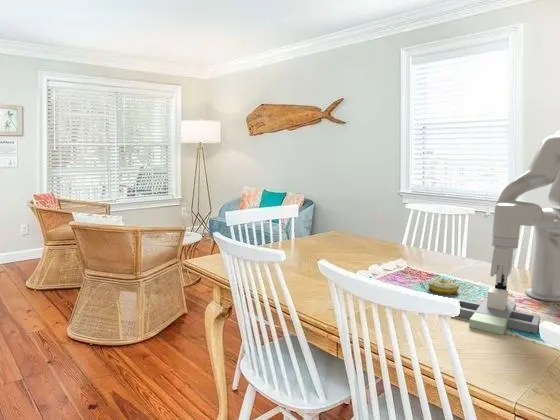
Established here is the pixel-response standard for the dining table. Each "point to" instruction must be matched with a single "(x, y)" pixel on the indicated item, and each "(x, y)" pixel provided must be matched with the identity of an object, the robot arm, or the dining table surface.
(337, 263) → the dining table surface
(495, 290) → the cream block
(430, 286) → the decorated donut
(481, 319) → the board
